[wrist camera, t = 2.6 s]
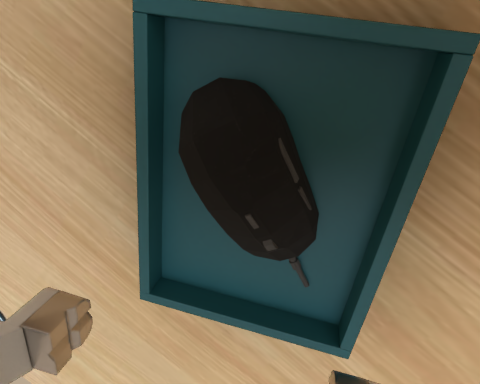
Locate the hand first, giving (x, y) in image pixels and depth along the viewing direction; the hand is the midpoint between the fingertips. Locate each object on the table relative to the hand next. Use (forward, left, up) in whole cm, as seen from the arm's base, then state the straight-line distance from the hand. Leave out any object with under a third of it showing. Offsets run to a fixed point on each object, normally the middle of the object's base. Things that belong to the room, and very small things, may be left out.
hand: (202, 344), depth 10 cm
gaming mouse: (0, 0, -12) cm, 12 cm away
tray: (0, 0, -12) cm, 12 cm away
